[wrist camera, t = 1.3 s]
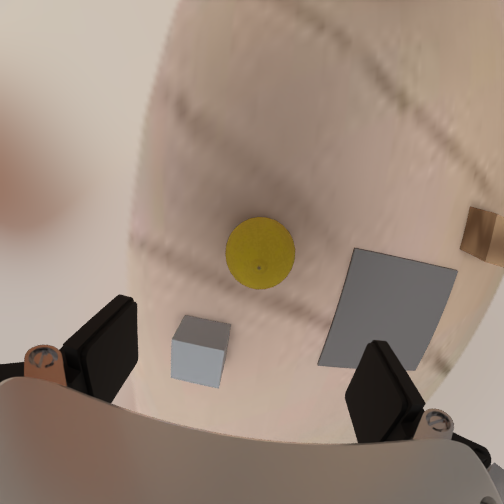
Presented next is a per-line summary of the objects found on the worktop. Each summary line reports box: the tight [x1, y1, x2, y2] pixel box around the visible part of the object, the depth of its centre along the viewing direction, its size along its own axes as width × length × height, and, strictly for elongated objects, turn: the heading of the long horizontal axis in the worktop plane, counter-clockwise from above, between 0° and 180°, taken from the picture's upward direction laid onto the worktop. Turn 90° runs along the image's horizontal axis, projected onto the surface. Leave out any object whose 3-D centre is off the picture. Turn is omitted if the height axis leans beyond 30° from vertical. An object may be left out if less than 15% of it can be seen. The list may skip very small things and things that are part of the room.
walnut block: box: [460, 207, 504, 267], centre depth 22 cm, size 5×5×5 cm
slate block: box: [171, 315, 231, 388], centre depth 28 cm, size 5×5×5 cm
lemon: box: [225, 217, 295, 289], centre depth 23 cm, size 6×6×8 cm
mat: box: [318, 248, 458, 371], centre depth 28 cm, size 14×14×1 cm
